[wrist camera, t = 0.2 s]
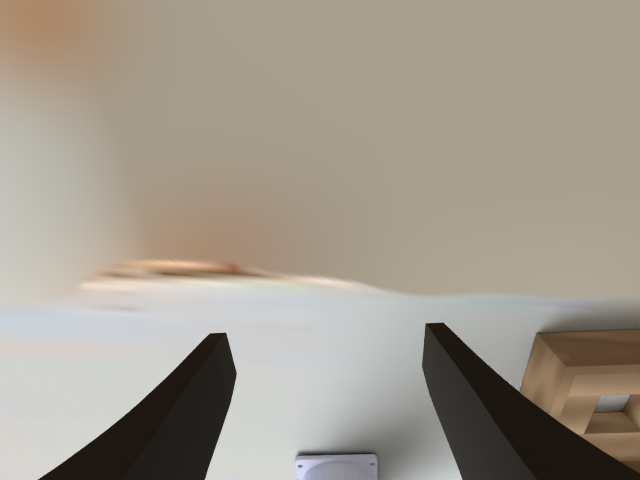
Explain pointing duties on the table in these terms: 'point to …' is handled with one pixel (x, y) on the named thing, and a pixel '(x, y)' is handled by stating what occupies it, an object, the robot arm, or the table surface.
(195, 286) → the table surface
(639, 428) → the crate
